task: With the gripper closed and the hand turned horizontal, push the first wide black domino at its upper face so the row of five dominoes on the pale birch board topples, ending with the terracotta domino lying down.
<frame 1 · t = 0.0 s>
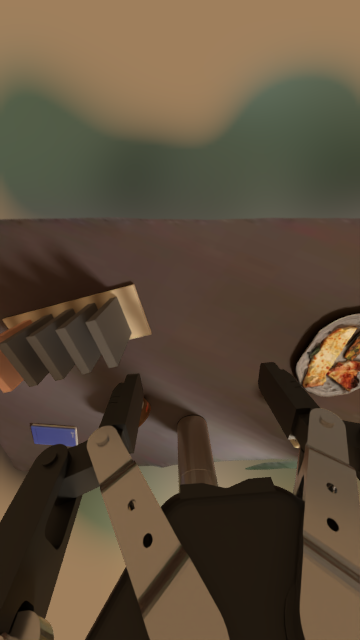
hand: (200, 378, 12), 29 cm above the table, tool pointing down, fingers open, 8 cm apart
tin: (127, 403, 53), on the table
blue notebook: (57, 431, 58), on the table
domino 3: (79, 327, 42), point 1 cm above the table, touching board
board: (80, 325, 42), on the table
domino 5: (38, 337, 42), point 1 cm above the table, touching board
domino 1: (121, 316, 41), point 1 cm above the table, touching board
domino 2: (100, 321, 41), point 1 cm above the table, touching board
food plate: (338, 354, 49), on the table
domino 4: (58, 332, 42), point 1 cm above the table, touching board
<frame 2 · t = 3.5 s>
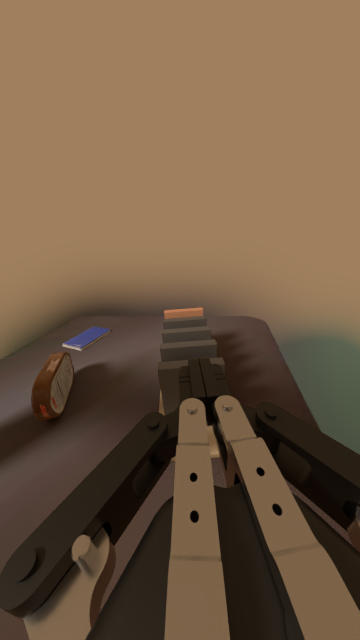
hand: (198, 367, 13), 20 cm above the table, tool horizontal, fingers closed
tin: (64, 398, 39), on the table
blue notebook: (88, 340, 62), on the table
domino 3: (189, 379, 39), point 1 cm above the table, touching board
board: (189, 382, 40), on the table
domino 5: (186, 352, 48), point 1 cm above the table, touching board
domino 1: (194, 422, 30), point 1 cm above the table, touching board
domino 2: (191, 398, 35), point 1 cm above the table, touching board
domino 4: (187, 364, 44), point 1 cm above the table, touching board
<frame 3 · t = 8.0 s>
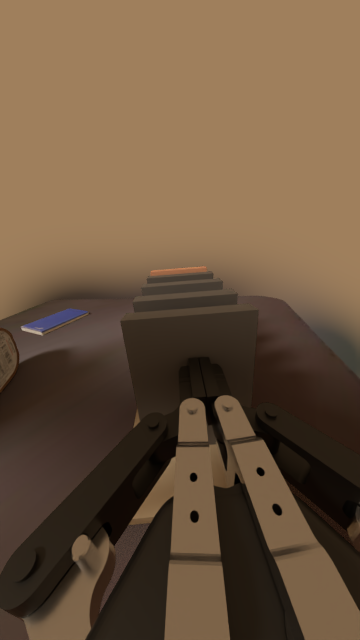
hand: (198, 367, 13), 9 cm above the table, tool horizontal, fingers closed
blue notebook: (58, 324, 48), on the table
domino 3: (187, 367, 26), point 1 cm above the table, touching board
board: (187, 372, 26), on the table
domino 5: (183, 333, 35), point 1 cm above the table, touching board
domino 1: (196, 437, 17), point 1 cm above the table, touching board
domino 2: (190, 395, 21), point 1 cm above the table, touching board
domino 4: (184, 348, 31), point 1 cm above the table, touching board
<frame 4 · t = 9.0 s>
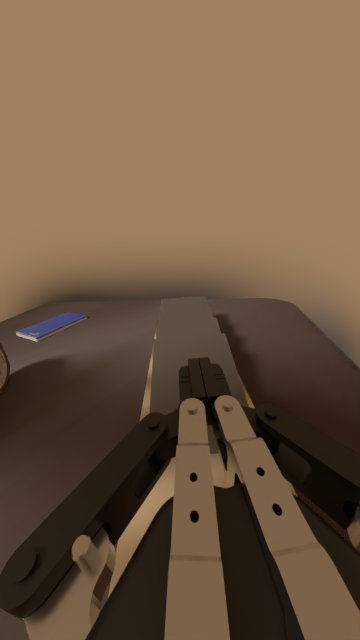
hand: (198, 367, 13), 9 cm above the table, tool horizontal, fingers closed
blue notebook: (56, 329, 45), on the table
domino 3: (191, 369, 24), point 2 cm above the table, tilted 71°, touching board, domino 2, domino 4
board: (193, 387, 24), on the table
domino 1: (203, 452, 15), point 2 cm above the table, tilted 71°, touching board, domino 2
domino 2: (196, 402, 20), point 2 cm above the table, tilted 71°, touching board, domino 1, domino 3
domino 4: (188, 347, 29), point 2 cm above the table, tilted 71°, touching domino 3, domino 5
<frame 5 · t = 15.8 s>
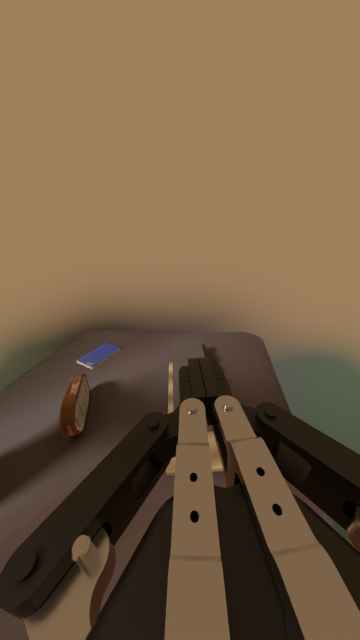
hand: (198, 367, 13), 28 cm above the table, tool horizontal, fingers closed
tin: (82, 415, 44), on the table
blue notebook: (100, 357, 66), on the table
domino 3: (192, 391, 46), point 2 cm above the table, tilted 71°, touching board, domino 2, domino 4
board: (193, 401, 45), on the table
domino 1: (197, 431, 36), point 2 cm above the table, tilted 71°, touching board, domino 2
domino 4: (190, 376, 50), point 2 cm above the table, tilted 71°, touching domino 3, domino 5
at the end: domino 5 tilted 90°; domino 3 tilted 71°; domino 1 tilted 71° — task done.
